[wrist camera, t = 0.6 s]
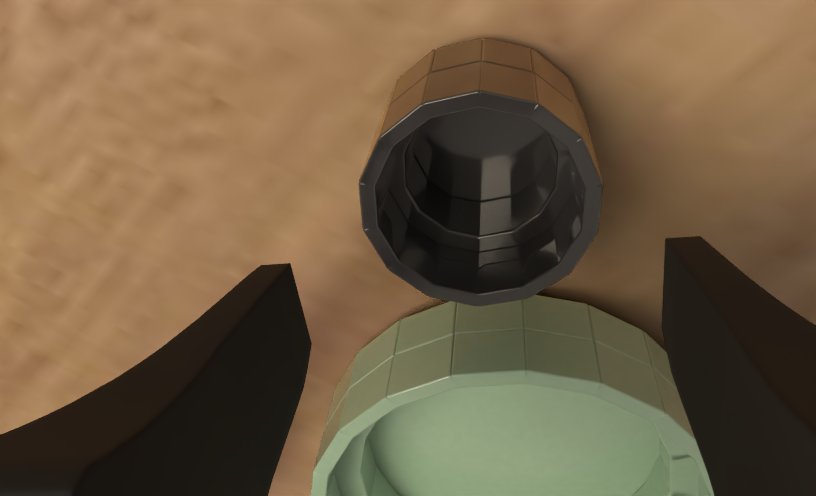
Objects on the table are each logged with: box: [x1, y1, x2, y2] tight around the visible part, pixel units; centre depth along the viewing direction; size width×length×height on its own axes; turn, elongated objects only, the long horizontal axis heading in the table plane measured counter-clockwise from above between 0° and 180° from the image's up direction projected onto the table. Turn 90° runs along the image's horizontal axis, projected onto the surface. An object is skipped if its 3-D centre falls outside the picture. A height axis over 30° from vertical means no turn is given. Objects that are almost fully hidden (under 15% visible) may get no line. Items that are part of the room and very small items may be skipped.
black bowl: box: [359, 38, 603, 307], centre depth 19 cm, size 6×6×4 cm
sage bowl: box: [311, 295, 714, 496], centre depth 25 cm, size 13×13×4 cm
